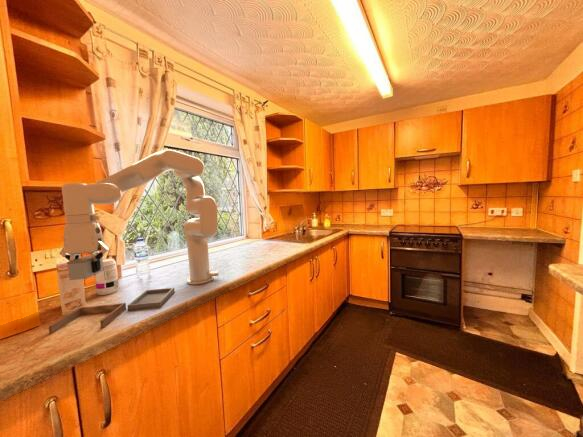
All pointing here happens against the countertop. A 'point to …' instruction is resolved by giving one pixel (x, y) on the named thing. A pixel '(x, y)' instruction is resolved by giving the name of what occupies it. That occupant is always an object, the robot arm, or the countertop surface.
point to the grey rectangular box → (82, 268)
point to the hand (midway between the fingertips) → (87, 271)
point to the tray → (151, 299)
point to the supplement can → (107, 278)
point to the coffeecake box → (69, 289)
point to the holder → (115, 309)
